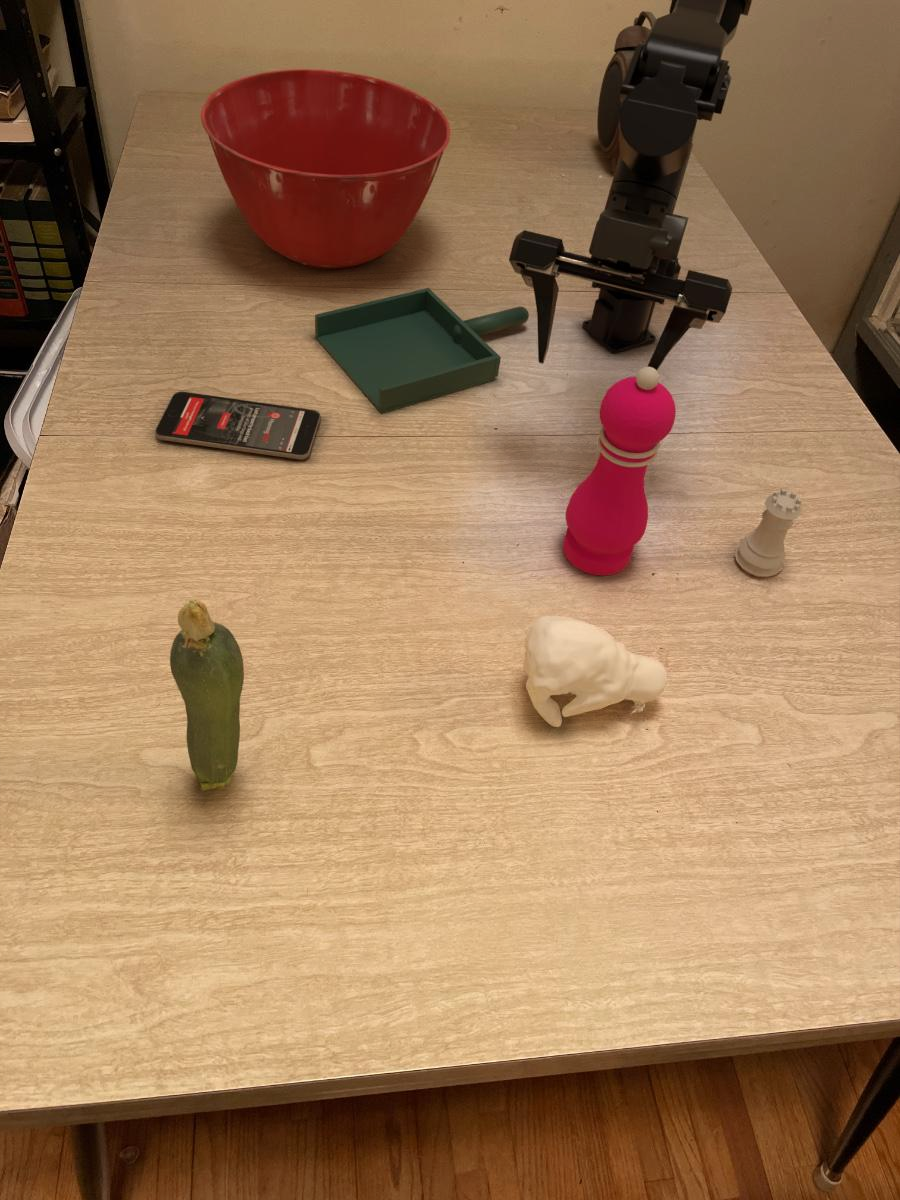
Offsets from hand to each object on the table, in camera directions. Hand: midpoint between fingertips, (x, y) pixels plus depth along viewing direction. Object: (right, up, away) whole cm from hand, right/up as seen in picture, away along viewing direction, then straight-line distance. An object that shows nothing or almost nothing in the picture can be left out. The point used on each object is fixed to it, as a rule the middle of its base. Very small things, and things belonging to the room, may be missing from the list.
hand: (591, 376), depth 84 cm
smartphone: (-33, -3, +11) cm, 35 cm away
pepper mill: (+1, -15, +4) cm, 16 cm away
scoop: (-14, +9, +24) cm, 29 cm away
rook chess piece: (+16, -16, +6) cm, 24 cm away
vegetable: (-29, -32, -15) cm, 46 cm away
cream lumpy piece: (-1, -28, -7) cm, 29 cm away
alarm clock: (+13, +47, +62) cm, 79 cm away
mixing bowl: (-28, +26, +38) cm, 53 cm away
